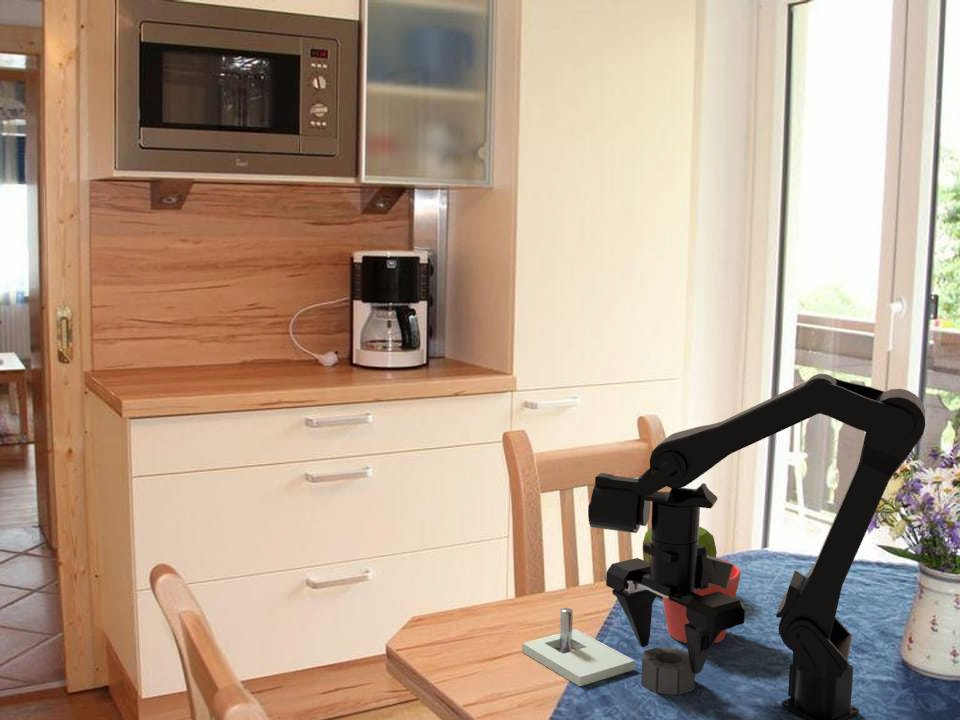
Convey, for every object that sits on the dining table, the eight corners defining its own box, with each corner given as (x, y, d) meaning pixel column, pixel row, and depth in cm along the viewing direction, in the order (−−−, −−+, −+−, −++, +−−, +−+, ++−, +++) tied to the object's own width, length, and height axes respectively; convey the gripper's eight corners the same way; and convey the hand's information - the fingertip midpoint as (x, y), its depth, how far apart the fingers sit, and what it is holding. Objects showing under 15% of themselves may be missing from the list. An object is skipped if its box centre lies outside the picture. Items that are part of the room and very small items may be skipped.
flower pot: (738, 653, 141) (742, 583, 139) (654, 645, 143) (657, 576, 141) (735, 623, 151) (739, 557, 149) (657, 616, 153) (660, 551, 152)
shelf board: (634, 669, 135) (635, 660, 135) (579, 686, 130) (579, 677, 130) (575, 637, 145) (575, 628, 145) (522, 651, 140) (522, 643, 140)
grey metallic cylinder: (573, 654, 139) (575, 610, 139) (564, 657, 139) (565, 613, 138) (566, 650, 141) (567, 607, 140) (556, 652, 140) (558, 609, 139)
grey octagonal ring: (705, 686, 131) (706, 661, 130) (667, 698, 127) (668, 673, 127) (668, 667, 136) (669, 643, 136) (631, 678, 132) (632, 654, 132)
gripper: (779, 547, 126) (772, 672, 128) (669, 509, 141) (664, 621, 143) (713, 563, 120) (707, 694, 122) (605, 522, 135) (601, 638, 137)
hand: (669, 659), depth 131 cm, fingers open, 9 cm apart
